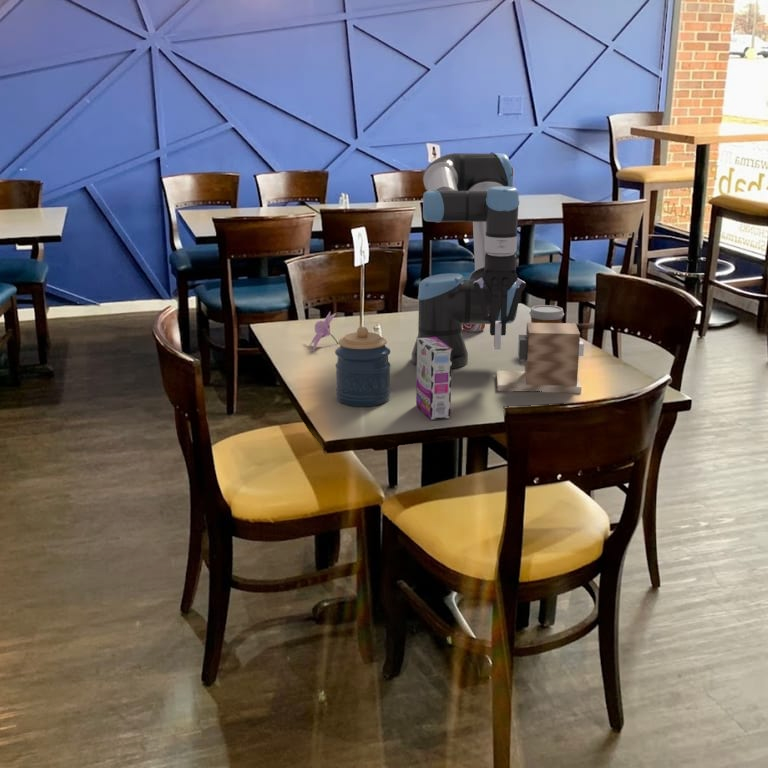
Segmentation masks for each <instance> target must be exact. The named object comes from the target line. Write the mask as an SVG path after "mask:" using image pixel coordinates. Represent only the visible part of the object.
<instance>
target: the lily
mask: <svg viewBox="0 0 768 768" xmlns="http://www.w3.org/2000/svg"><path fill="white" fill-rule="evenodd" d="M336 315H337V313H336V312H335V313H333V314H331V311H329V312H328V314H327V315H326V317H325V319H324V321H323V320H318V321H317V322H315V324H314V332H315V336H314V337H313V338H312V340H311V342H310V344H313V346H312V347H313V348H312V349H313V350H315V349H316V348H317V345H318V343H320V340H321V339H322V338H326V337H329V336H331V337H332V338H333V339H334V341H335V342H336V344H337V345H339V343H338V342H339V341H338V340H337V339H336V337H335V336H334V335H333V334H332V333H331V327H330V326H331V325H330V324H331V322H332V321H333V319H334V318H335V316H336Z"/></svg>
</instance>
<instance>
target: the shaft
mask: <svg viewBox="0 0 768 768" xmlns="http://www.w3.org/2000/svg"><path fill="white" fill-rule="evenodd" d="M517 345H518V347H517V348H518V350H517V355H518V356H517V357H518V360H519V361H525V360H527V353H528V337H527V335H526V334H518V344H517ZM584 346H585V344H584V341H583V340H580V343H579V357H584V349H585V347H584Z"/></svg>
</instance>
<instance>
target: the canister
mask: <svg viewBox="0 0 768 768" xmlns="http://www.w3.org/2000/svg"><path fill="white" fill-rule="evenodd" d="M337 342H338V345H339V347H337V348H335V351H334V353H335V356H336V357H337V362H336V363H335V369H336V372H335V374H336V375H335V377H336V388H335V394H336V398H337V401H338V402H340V403H341V404H343V405H346V406H351V407H361V408H362V407H374V406H379V405H381V404H385V403H387V402H388V401H389V399H390V395H391V390H392V389H391V387H390V385H391V384H390V383H391V381H390V379H391V376H390V375H391V373H390V372H391V371H390V368H391V362H390V361H389V355H390V354H391V349H390V348H389V347H387V346H386V345H387V343H388V341H387V339H386V338H384V337H382V336H381V335H380V334H378V333H375V332H370V331H369V330H368V328H367V327H366V326H359V327H358V328H357V330H356V332H351V333H348V334H345V335H344V336H343V337H342V338H340V339H339V340H338V341H337Z"/></svg>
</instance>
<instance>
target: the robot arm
mask: <svg viewBox="0 0 768 768" xmlns="http://www.w3.org/2000/svg"><path fill="white" fill-rule="evenodd" d="M512 170H513V169H512V164H511V160H510V158H509V156H508V155H506V153H502V152H501V153H496V152H490V153H485V152H484V153H483V152H482V153H478V152H477V153H475V152H473V153H471V152H470V153H469V152H464V153H458V152H454V153H449V154H445V155H442V156H440V157H437V158H436V159H434V160H432V161H431V162H430V163H429V164H428V166H427V167H426V168H425V170H424V172H423V176H422V177H423V178H422V180H423V185H424V188H425V190H426V191H425V192H424V193H423V195H422V196H423V197H422V206H423V207H422V218H423V220H424V221H425V222H428V223H429V222H431V223H434V222H435V223H437V224H438V223H459V222H461V223H463V222H465V223H467V222H468V223H472V230H473V235H472V236H473V254H474V257H473V258H474V270H473V271H472V272H471V274H470V275H469V279H464V276H463V275H462V274H461V273H458V272H457V273H450V272H449V273H440V274H435V275H430V276H428V277H425V278H424V279H422V280H421V281H420V282H419V285H418V296H417V300H418V324H417V327H418V329H417V330H418V331H417V332H418V333H417V336H416V340H415V342H414V345H413V348H412V352H411V363H412V364H413V365H415V366H417V338H426V337H437V338H438V339H439V340H441V341H442V342H443V343H445V344H446V345H447V346H449V347H450V348H452V369H456V368H461V367H464V366H466V365H467V364H468V362H469V355H468V349H467V346H466V342H465V341H464V336H463V328H462V324H485V325H489V333H490V334H489V335H490V336H494V337H493V348H494V350H501V349H502V348H501V347H502V336H506V334H507V333H506V332H507V324H512V323H514V322H515V320H516V318H517V313H518V307H519V303H520V299H521V297H522V293H523V291H524V290H525V288H527V283H526V282H525V280H522V279H520V278H519V276H518V274H517V271H516V270H517V254H515V253H516V252H517V251H518V247H517V246H518V245H517V244H518V222H519V221H518V219H519V218H518V217H519V205H520V199H519V196H520V195H519V193H520V192H519V190H518V188H516V187H515V186H513V183H514V182H513V181H514V179H513V171H512Z"/></svg>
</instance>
